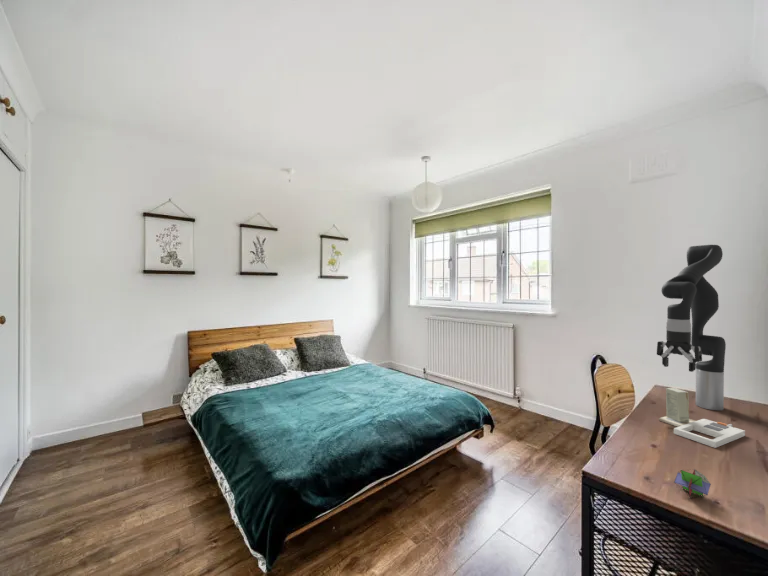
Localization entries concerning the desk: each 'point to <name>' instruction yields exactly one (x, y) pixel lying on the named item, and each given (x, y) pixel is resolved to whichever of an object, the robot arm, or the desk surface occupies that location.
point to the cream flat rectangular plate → (674, 421)
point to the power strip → (710, 432)
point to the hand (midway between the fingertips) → (678, 368)
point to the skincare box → (677, 404)
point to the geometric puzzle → (693, 482)
